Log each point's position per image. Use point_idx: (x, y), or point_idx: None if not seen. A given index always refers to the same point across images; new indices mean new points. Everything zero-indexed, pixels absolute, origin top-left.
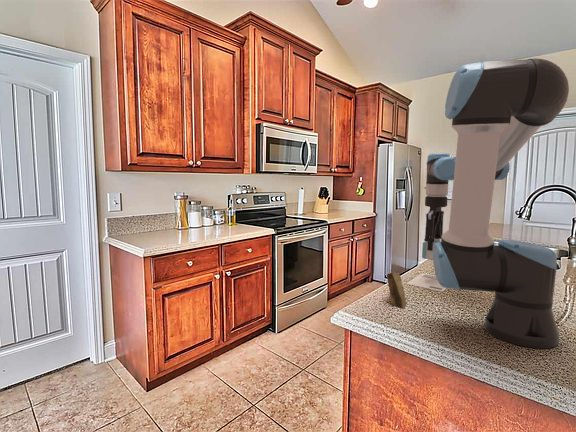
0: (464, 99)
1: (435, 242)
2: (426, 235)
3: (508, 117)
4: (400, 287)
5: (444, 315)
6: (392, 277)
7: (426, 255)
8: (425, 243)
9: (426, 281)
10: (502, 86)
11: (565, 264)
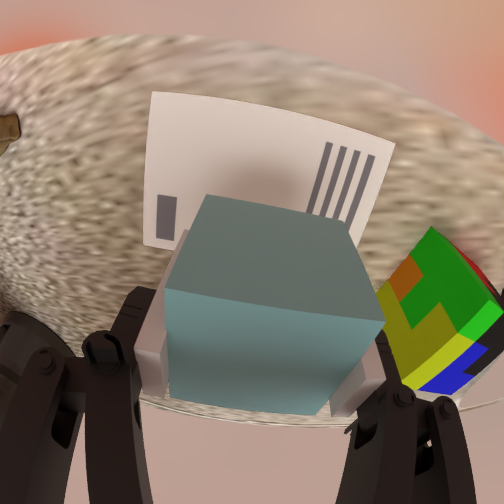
0: None
1: (262, 382)
2: (21, 400)
3: None
4: None
5: (2, 256)
6: None
7: (177, 245)
8: (165, 309)
9: (245, 171)
10: None
11: (484, 403)
